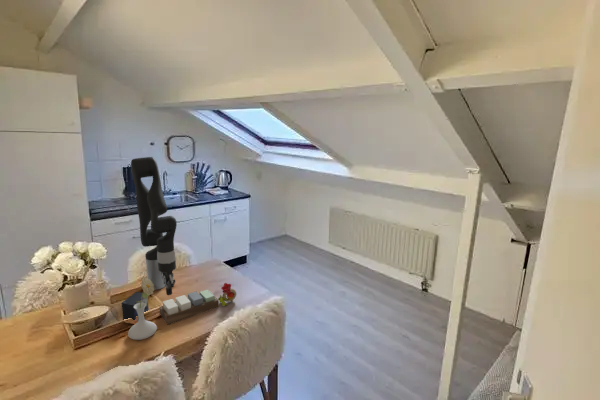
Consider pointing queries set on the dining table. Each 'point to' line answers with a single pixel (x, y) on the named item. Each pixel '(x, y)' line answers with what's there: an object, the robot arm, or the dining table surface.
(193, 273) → the dining table surface
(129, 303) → the small box
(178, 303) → the key ivory inner
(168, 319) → the keybed
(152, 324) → the flower in vase
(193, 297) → the key slate
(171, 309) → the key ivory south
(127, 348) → the dining table surface
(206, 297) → the key sage
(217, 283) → the dining table surface
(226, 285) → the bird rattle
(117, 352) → the dining table surface
